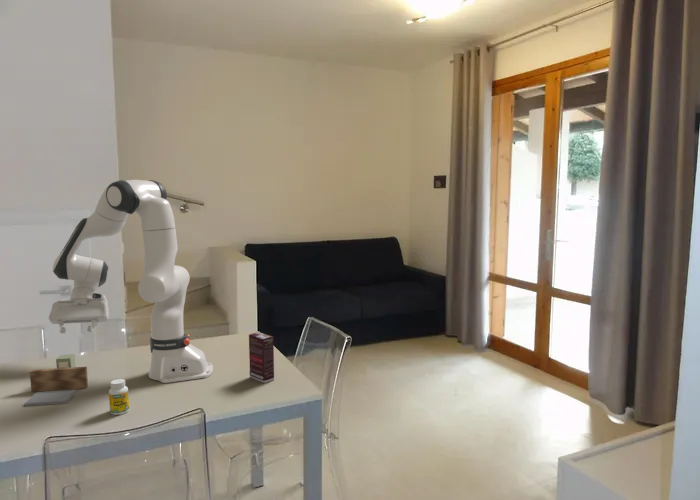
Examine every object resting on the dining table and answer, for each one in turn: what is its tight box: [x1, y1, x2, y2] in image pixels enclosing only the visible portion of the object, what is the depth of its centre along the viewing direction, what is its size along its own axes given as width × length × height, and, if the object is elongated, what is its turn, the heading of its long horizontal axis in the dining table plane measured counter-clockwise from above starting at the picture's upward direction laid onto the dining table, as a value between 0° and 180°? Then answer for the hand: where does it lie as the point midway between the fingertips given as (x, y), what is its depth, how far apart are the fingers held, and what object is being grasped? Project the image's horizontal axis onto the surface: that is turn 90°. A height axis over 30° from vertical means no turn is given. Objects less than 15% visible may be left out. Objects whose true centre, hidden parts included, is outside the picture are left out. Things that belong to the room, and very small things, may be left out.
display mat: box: [23, 389, 77, 407], centre depth 165 cm, size 12×9×1 cm
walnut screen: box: [29, 366, 89, 393], centre depth 172 cm, size 17×2×7 cm, turn 101°
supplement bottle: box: [108, 378, 130, 416], centre depth 155 cm, size 5×5×10 cm
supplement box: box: [248, 331, 275, 384], centre depth 181 cm, size 9×5×16 cm, turn 47°
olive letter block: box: [55, 353, 77, 368], centre depth 179 cm, size 4×5×9 cm
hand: (76, 331), depth 190 cm, fingers open, 8 cm apart
